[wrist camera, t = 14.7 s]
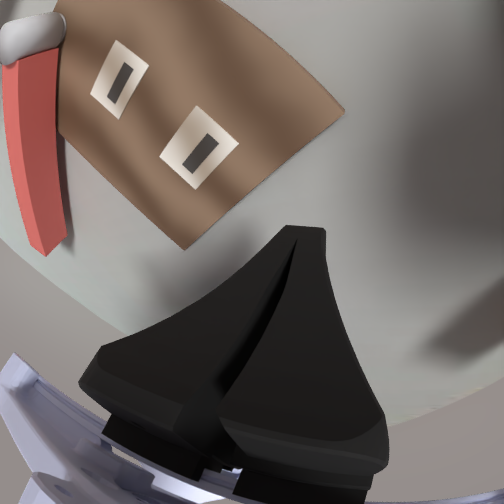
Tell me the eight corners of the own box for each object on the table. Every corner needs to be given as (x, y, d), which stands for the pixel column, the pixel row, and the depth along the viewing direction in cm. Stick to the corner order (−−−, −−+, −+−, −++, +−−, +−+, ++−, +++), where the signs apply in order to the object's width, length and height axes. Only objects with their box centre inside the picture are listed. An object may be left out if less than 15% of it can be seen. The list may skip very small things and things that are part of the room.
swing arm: (50, 224, 29) (26, 246, 26) (42, 12, 12) (-1, 23, 9) (69, 236, 29) (44, 261, 26) (66, 10, 12) (18, 20, 9)
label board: (189, 243, 26) (183, 252, 25) (33, 94, 20) (24, 98, 19) (345, 110, 15) (344, 114, 14) (100, -61, 8) (89, -62, 8)
